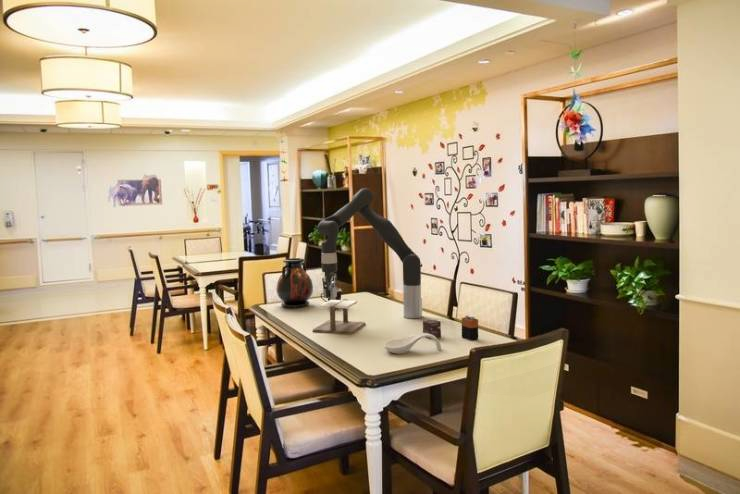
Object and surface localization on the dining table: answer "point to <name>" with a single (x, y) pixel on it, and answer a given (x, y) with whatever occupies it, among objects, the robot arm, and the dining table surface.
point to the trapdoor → (339, 304)
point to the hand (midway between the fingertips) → (330, 296)
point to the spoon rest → (408, 343)
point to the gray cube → (331, 292)
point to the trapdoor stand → (339, 324)
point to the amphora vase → (294, 284)
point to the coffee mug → (335, 297)
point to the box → (432, 328)
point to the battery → (470, 328)
